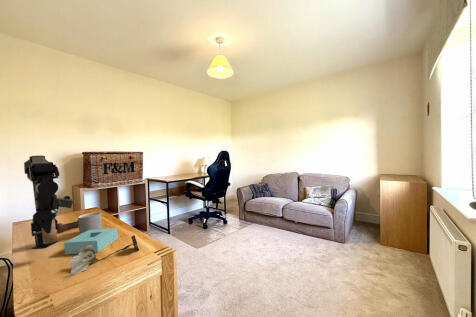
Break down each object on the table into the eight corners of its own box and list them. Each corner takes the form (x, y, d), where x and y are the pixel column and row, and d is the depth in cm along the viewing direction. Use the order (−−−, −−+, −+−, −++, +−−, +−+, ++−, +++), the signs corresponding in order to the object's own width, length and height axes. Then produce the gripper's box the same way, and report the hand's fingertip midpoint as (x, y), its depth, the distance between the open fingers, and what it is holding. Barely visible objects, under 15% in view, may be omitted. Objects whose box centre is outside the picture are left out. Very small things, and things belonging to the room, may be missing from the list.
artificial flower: (142, 256, 82) (137, 236, 79) (71, 286, 70) (63, 263, 66) (137, 243, 89) (133, 224, 86) (73, 268, 76) (65, 247, 73)
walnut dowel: (40, 244, 80) (37, 219, 80) (50, 239, 84) (47, 216, 84) (50, 243, 80) (47, 218, 79) (59, 239, 84) (57, 215, 83)
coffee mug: (105, 232, 108) (103, 213, 108) (82, 238, 101) (80, 219, 101) (97, 227, 117) (95, 210, 117) (75, 233, 109) (74, 215, 109)
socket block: (65, 254, 85) (63, 242, 85) (89, 239, 99) (88, 229, 99) (98, 252, 85) (97, 240, 85) (118, 238, 99) (117, 227, 99)
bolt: (89, 226, 125) (59, 235, 112) (86, 222, 127) (55, 230, 114) (91, 219, 123) (60, 227, 110) (88, 214, 125) (57, 221, 113)
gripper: (70, 192, 79) (74, 232, 79) (71, 188, 93) (74, 221, 94) (30, 198, 72) (34, 241, 72) (38, 192, 87) (41, 228, 87)
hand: (49, 231), depth 82 cm, fingers closed on walnut dowel, 4 cm apart
